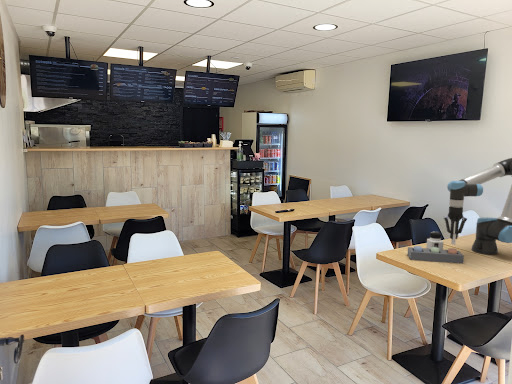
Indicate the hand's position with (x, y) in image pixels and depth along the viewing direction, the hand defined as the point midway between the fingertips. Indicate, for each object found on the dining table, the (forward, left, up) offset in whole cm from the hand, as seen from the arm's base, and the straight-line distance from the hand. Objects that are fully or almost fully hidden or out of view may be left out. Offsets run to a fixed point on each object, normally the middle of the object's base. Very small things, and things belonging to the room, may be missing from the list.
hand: (453, 244), depth 234 cm
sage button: (+10, 0, -8) cm, 13 cm away
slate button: (+20, 0, -8) cm, 22 cm away
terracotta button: (0, 0, -8) cm, 8 cm away
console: (+10, 0, -10) cm, 14 cm away
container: (+6, -18, -11) cm, 22 cm away
